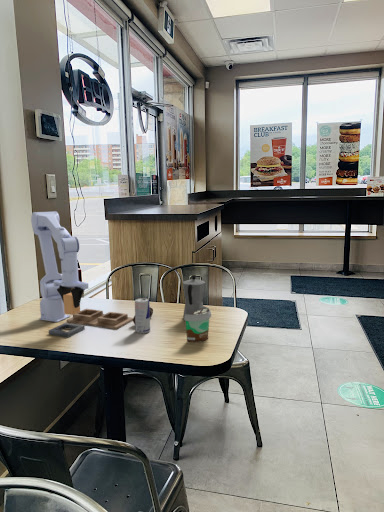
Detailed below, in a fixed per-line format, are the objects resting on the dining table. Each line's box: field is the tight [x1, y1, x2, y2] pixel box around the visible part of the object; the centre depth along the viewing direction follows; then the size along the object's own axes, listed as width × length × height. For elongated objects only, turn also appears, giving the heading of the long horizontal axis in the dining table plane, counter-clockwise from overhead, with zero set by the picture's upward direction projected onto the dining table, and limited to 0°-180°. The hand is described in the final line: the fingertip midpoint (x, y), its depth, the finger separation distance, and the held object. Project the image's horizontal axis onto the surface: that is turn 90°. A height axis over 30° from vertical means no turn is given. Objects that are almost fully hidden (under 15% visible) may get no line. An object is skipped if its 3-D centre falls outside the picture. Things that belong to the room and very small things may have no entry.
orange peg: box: [63, 292, 81, 316], centre depth 142 cm, size 4×4×7 cm
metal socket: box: [48, 322, 86, 339], centre depth 143 cm, size 9×9×2 cm
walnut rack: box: [66, 308, 134, 330], centre depth 155 cm, size 24×12×3 cm, turn 67°
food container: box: [183, 305, 212, 343], centre depth 134 cm, size 12×6×10 cm, turn 148°
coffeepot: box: [182, 274, 206, 320], centre depth 155 cm, size 15×9×18 cm, turn 168°
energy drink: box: [134, 297, 151, 334], centre depth 142 cm, size 5×5×12 cm
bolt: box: [132, 307, 154, 326], centre depth 155 cm, size 6×5×15 cm
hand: (72, 306), depth 143 cm, fingers closed on orange peg, 4 cm apart
